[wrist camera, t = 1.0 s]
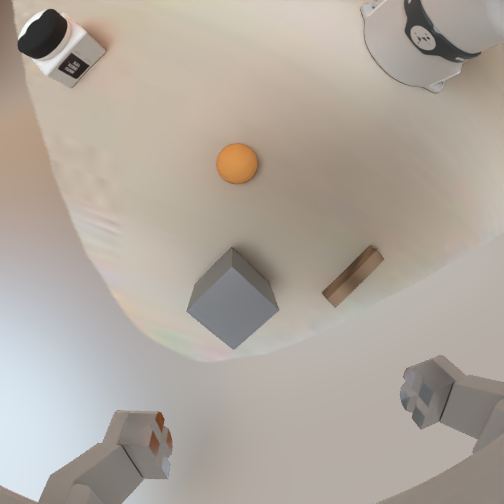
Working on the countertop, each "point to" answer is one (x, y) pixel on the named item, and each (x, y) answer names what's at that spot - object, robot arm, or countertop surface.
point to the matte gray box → (232, 299)
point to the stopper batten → (353, 276)
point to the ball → (237, 163)
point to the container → (59, 46)
